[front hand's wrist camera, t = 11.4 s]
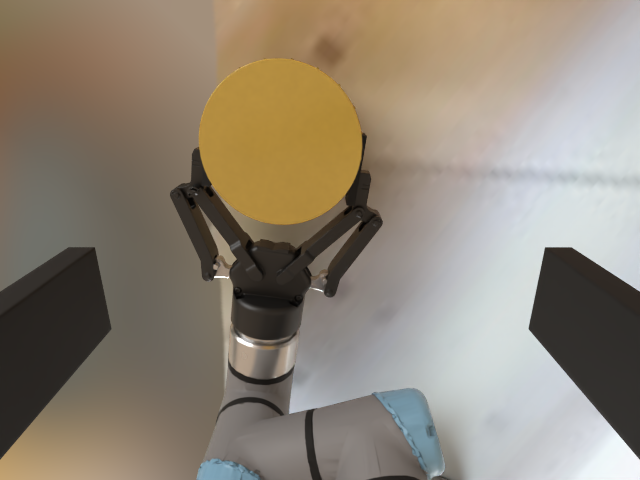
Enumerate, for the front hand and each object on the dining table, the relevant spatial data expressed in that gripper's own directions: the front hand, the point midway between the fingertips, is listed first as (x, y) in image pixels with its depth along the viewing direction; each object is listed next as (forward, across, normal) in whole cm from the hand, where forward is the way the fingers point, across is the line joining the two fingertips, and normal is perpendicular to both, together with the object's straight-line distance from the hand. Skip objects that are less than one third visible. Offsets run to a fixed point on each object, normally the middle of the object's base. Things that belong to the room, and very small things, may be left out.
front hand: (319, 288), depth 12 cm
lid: (+15, +2, -2) cm, 16 cm away
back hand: (+28, +3, -2) cm, 28 cm away
